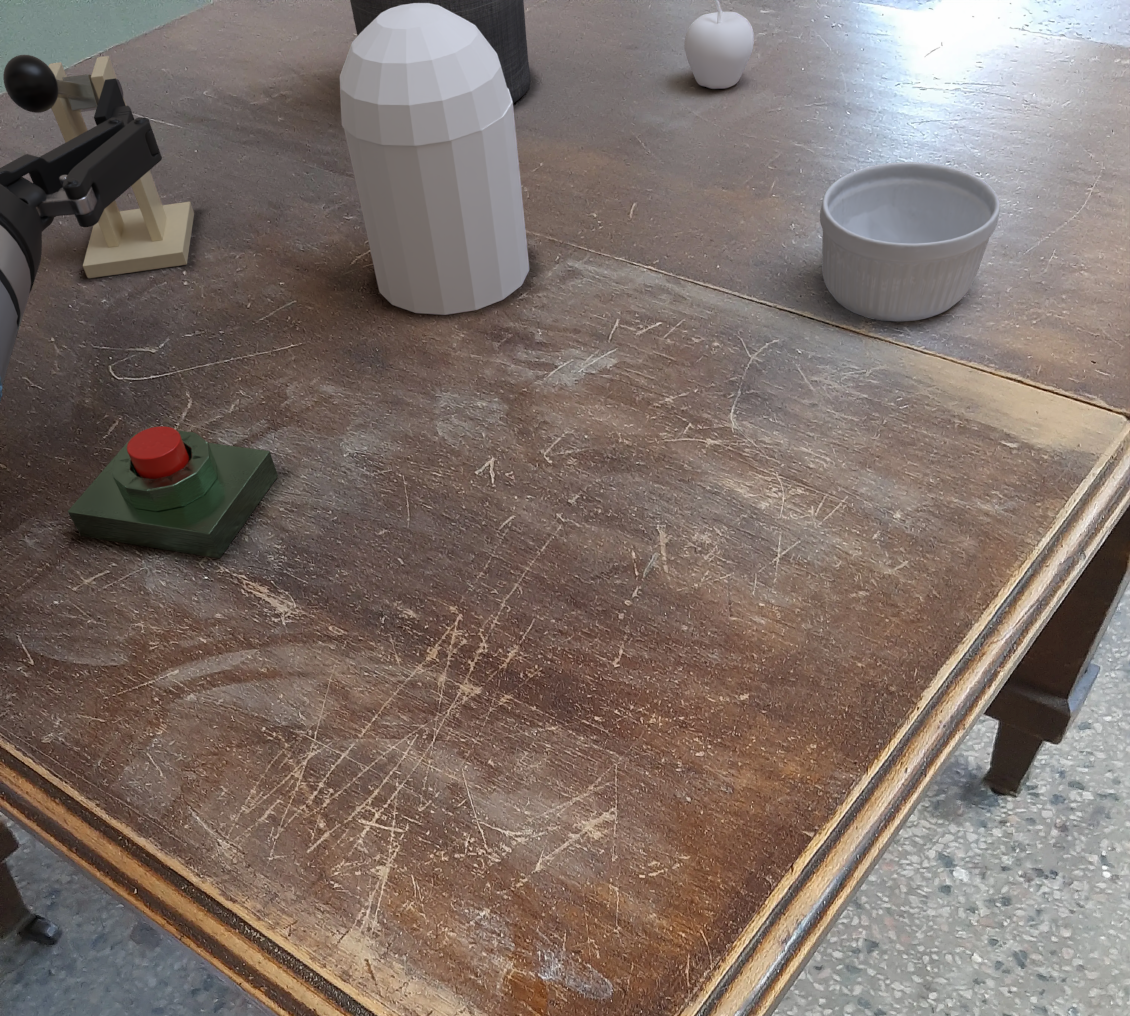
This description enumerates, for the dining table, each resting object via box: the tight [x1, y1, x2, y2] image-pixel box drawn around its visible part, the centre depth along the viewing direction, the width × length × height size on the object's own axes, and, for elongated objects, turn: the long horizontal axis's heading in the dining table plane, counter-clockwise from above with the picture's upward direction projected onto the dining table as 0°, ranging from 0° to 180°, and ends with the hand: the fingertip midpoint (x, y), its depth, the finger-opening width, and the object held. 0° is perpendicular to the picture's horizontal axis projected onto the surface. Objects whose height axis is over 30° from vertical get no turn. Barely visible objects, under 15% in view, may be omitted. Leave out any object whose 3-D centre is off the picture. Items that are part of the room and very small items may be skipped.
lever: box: [2, 54, 99, 114], centre depth 85 cm, size 17×4×4 cm, turn 8°
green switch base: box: [67, 429, 279, 559], centre depth 75 cm, size 11×9×4 cm
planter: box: [349, 0, 532, 104], centre depth 112 cm, size 18×18×16 cm
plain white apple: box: [684, 0, 755, 90], centre depth 111 cm, size 7×7×8 cm
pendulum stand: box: [48, 55, 195, 279], centre depth 95 cm, size 10×9×15 cm
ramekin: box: [819, 161, 1001, 323], centre depth 85 cm, size 13×13×7 cm
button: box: [127, 425, 189, 479], centre depth 73 cm, size 4×4×2 cm
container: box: [339, 3, 530, 316], centre depth 86 cm, size 13×13×20 cm
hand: (21, 113), depth 76 cm, fingers open, 13 cm apart
